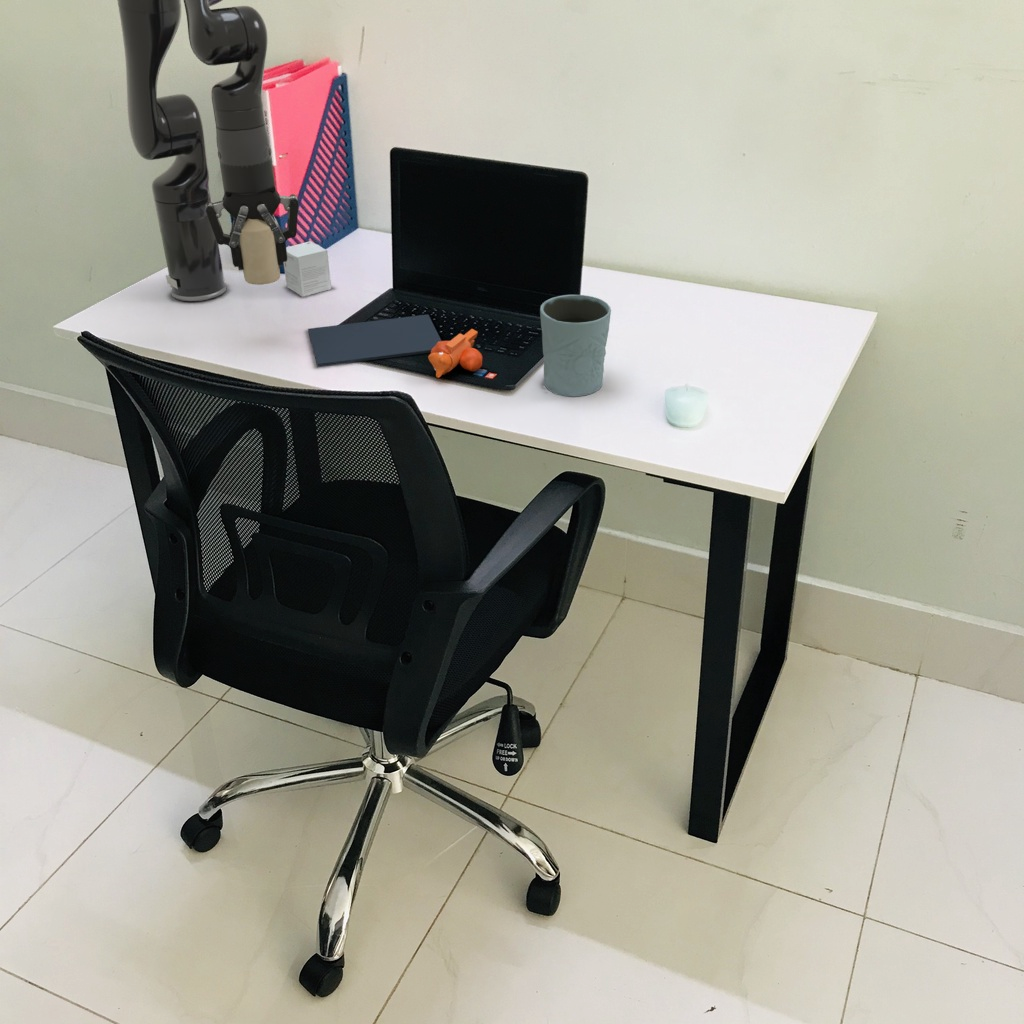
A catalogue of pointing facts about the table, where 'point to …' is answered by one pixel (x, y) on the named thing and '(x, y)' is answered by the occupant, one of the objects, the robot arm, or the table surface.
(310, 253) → the product box
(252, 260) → the candle
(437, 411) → the table surface
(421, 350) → the desk mat
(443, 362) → the orange toy bird
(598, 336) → the grey green cup
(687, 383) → the table surface
